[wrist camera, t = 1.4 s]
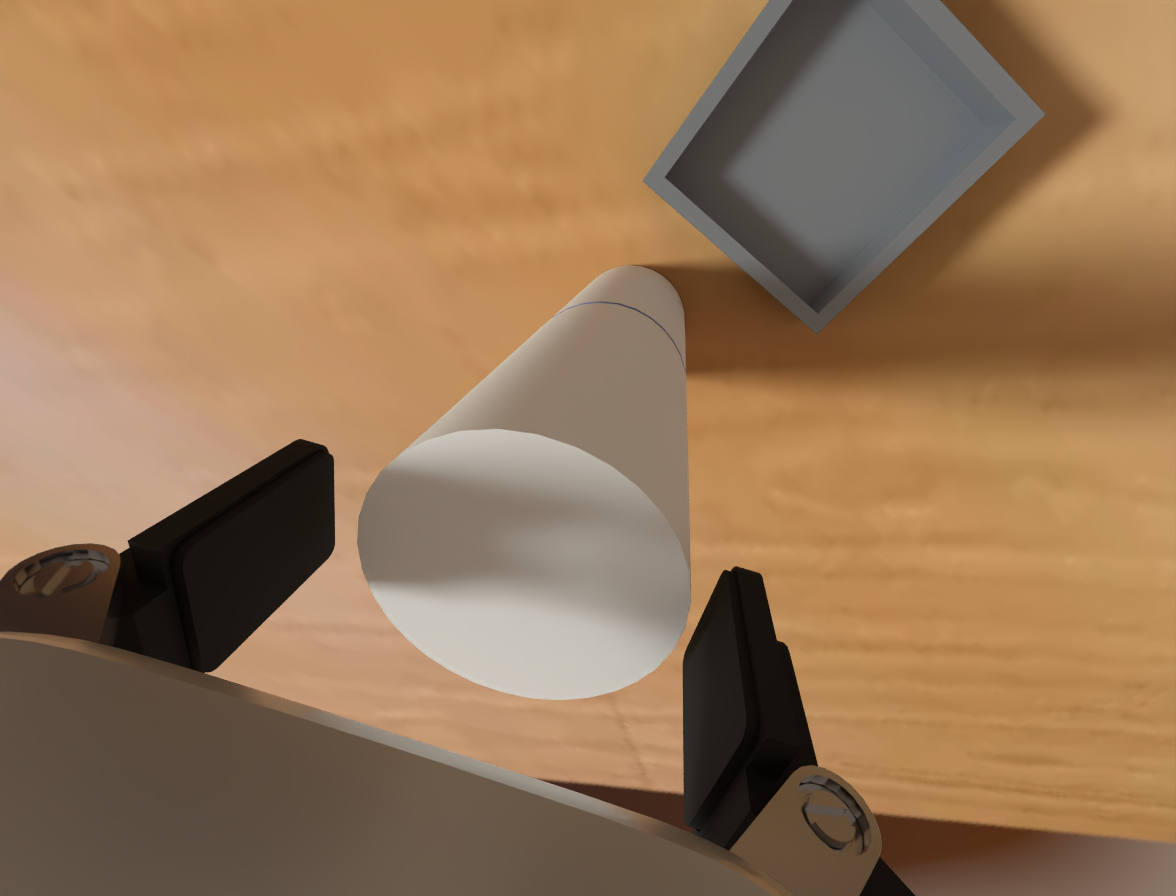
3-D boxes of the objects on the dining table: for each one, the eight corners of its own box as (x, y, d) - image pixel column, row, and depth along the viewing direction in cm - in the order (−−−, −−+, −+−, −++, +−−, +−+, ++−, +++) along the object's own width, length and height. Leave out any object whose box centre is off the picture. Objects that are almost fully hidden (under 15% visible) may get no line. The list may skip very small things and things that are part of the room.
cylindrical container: (708, 323, 31) (769, 609, 9) (629, 395, 35) (536, 736, 13) (629, 239, 30) (487, 346, 8) (554, 322, 33) (302, 563, 11)
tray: (821, -64, 23) (843, -105, 20) (1000, 125, 25) (1045, 114, 22) (646, 183, 28) (642, 180, 25) (803, 320, 30) (816, 334, 27)
